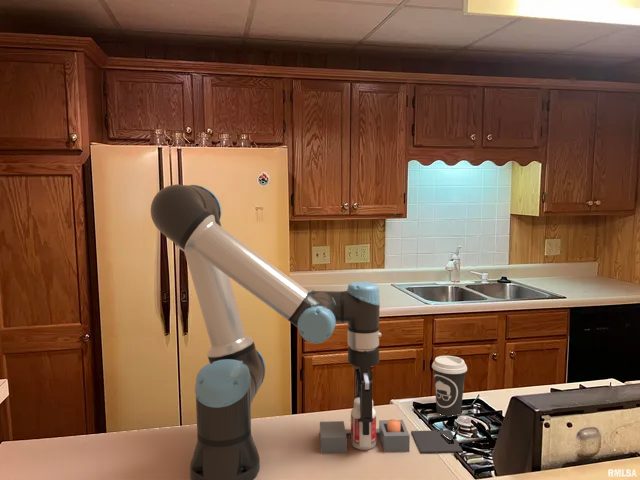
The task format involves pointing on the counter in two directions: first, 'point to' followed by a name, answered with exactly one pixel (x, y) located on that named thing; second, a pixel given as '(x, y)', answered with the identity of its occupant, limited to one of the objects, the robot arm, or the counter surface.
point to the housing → (336, 433)
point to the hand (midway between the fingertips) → (363, 438)
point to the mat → (435, 442)
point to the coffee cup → (449, 384)
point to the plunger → (393, 425)
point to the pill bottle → (355, 426)
